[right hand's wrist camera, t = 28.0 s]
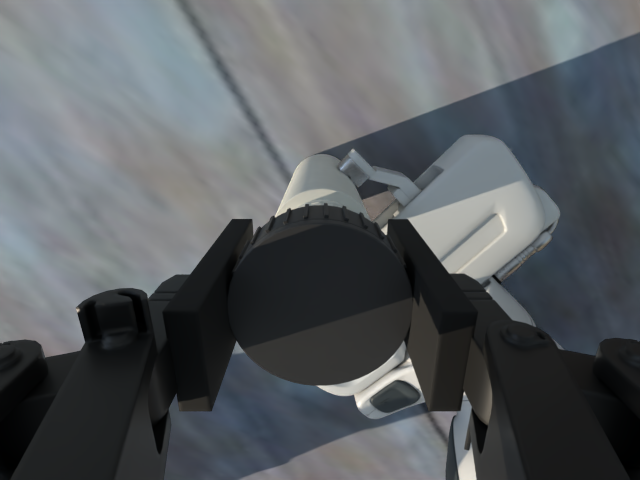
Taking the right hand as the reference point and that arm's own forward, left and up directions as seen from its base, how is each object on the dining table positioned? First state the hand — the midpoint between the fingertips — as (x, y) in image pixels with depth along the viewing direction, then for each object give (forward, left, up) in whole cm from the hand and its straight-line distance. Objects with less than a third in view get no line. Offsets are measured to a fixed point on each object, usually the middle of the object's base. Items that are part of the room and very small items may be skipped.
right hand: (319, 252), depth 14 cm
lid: (0, 0, +4) cm, 4 cm away
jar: (0, 0, -16) cm, 16 cm away
